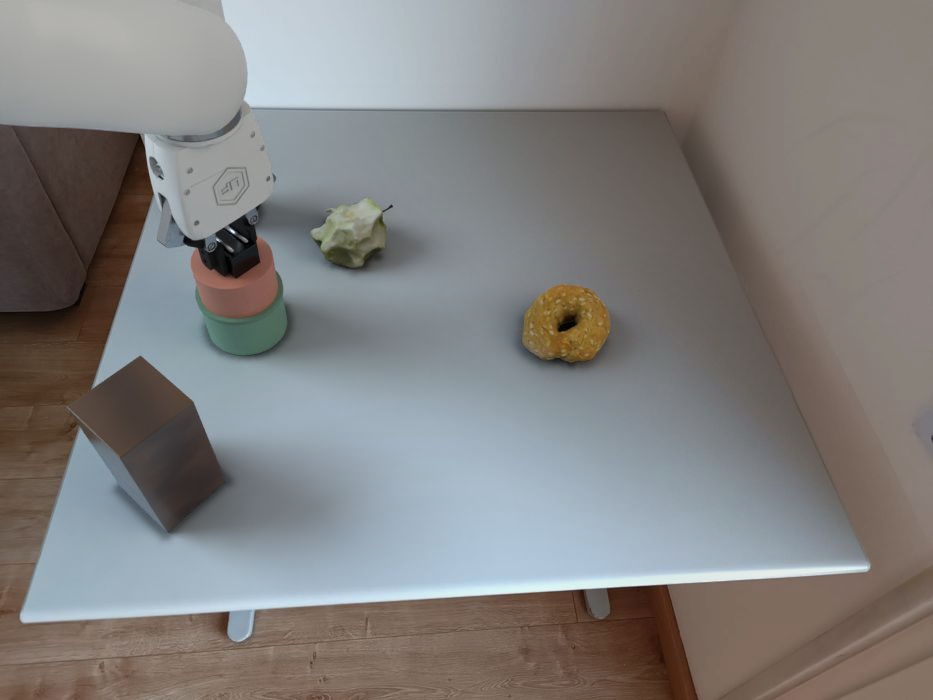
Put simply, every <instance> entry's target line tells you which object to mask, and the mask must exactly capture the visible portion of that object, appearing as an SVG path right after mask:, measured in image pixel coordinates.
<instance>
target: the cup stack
mask: <svg viewBox="0 0 933 700" xmlns="http://www.w3.org/2000/svg"><path fill="white" fill-rule="evenodd" d="M256 242H257V247H258V252H259V257H260V263H259V264H258V265H256V266H255V267H253V268H252V269H250V270H249V271H247V272H246V273H244V274H243V275H242V276H240V277H239V278H237V279H236V278H234V277H233V276H232V275H230V274H228V275H226V276H225V277H223V276H222V275H221V274H220V273H218V272H217V271H216V270H214V269H213V270H209V269H208V268H207V267H206V266H205V265H204V264H203V263H202V261H201V257H200V254H199V251H198V248H195V249H194V250H193V252H192V254H191V257H190V264H189V265H190V270H191V273H192V277H193V279H194V282H195V284H196V286H195V290H194V297H195V301H196V304H197V307H198V309H199V310H200V312H201V314H202V317H203V319H204V323H205V326H206V328H207V332H208V335H209V337H210V340H211V342H212V343H213V344H214V345H215V347H217V348H218V349H220V350H221V351H223V352H225V353H228V354H230V355H235V356H254V355H258V354H261V353H263V352H266V351H268V350H270V349H272V348H273V347H275V346H276V345H277V344H278V343H279V342H280V341H281V340H282V338H283V337H284V336H285V334H286V331H287V328H288V316H287V312H286V304H285V299H284V283H283V280H282V277H281V275H280V274H279V272H278V271H277V269H276V266H275V259H274V254H273V250H272V248H271V246H270V245H269V244H268V242H267V241H266V240H265V239H264V238H263V237H261V236H259V235H257V240H256Z"/></svg>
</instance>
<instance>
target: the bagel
mask: <svg viewBox="0 0 933 700" xmlns="http://www.w3.org/2000/svg"><path fill="white" fill-rule="evenodd" d="M610 319H611V318H610V314H609V310H608V308H607V306H606V304H605V303H604V302H603V301H602V300H601V299H600V297H599V296H598V295H597V293H596V292H595V291H593V290H592V289H591V288H589V287H585V286H582V285H574V284H569V283H568V284H564V283H559V284H557V285H555V286H552V287H550V288H549V289H547V290H546V291H545V292H543V293H542V294H540V295H538V296H537V297H536V298H535V300H534V301H533V302H532V304H531V305H530V307H529V308H528V309H527V310H526V311H525V313H524V316H523V327H522V339H521V342H522V345H523V346H524V348H526V349H527V350H528V351H529V352H530V353H532V354H533V355H535V356H536V357H537V358H539V359H541V360H543V361H550V360H551V361H553V360H554V359H561V361H565V362H569V363H575V362H583V363H584V362H586V361H587V362H588V361H590V360H592V359H594V357H595V356H596V355H597V354H598V353H599V351H601V349H602V347H603V345H604V344H605V343H606V340H607V339H608V336H609V335H610V333H611V320H610ZM571 322H572V323H573V324H574V326H572V327H571V328H569V329H567V330H563V331H560V330H559V329H560V327H561V326H562V325H564V324H569V323H571Z"/></svg>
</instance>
